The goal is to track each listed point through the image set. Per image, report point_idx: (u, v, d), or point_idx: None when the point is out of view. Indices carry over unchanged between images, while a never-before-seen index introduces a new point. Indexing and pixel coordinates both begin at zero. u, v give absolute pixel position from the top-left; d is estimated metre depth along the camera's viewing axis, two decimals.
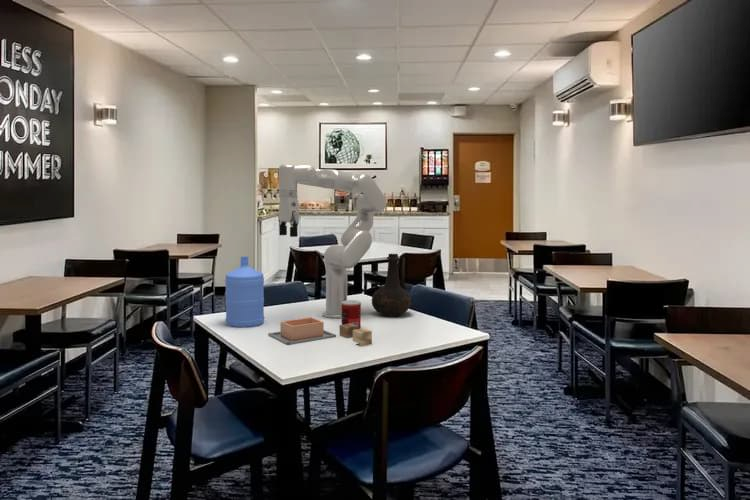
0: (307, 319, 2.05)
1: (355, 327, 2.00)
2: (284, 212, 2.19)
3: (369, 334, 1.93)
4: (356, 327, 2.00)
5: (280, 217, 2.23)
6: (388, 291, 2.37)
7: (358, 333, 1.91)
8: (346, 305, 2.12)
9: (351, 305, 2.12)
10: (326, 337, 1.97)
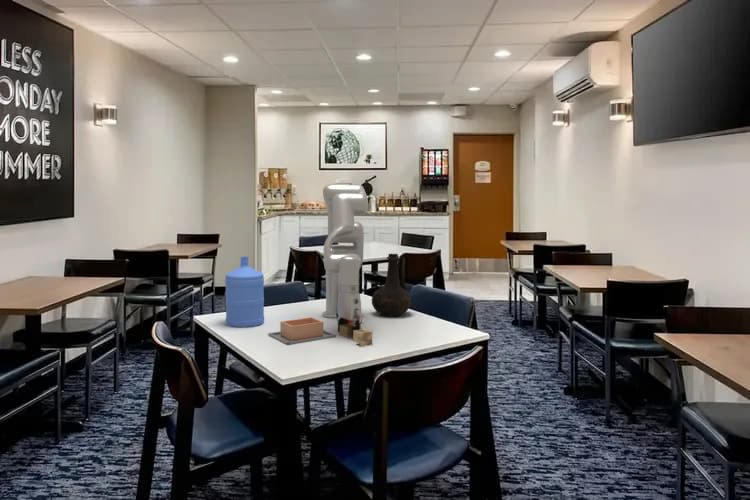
0: (307, 319, 2.05)
1: None
2: (345, 310, 1.98)
3: (369, 335, 1.92)
4: None
5: (339, 313, 2.02)
6: (388, 291, 2.37)
7: (359, 333, 1.91)
8: None
9: None
10: (326, 337, 1.97)
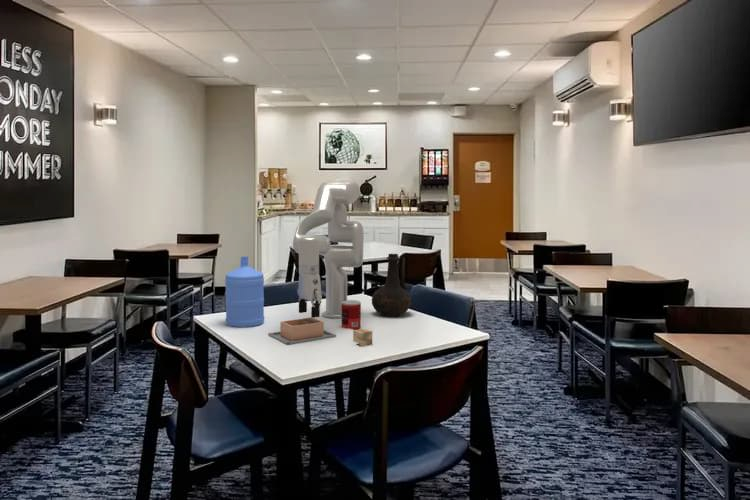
0: None
1: (315, 322, 2.00)
2: (305, 290, 1.97)
3: (369, 334, 1.93)
4: (316, 322, 2.00)
5: (300, 294, 2.01)
6: (388, 291, 2.37)
7: (359, 333, 1.91)
8: (346, 305, 2.12)
9: (351, 305, 2.12)
10: (326, 337, 1.97)
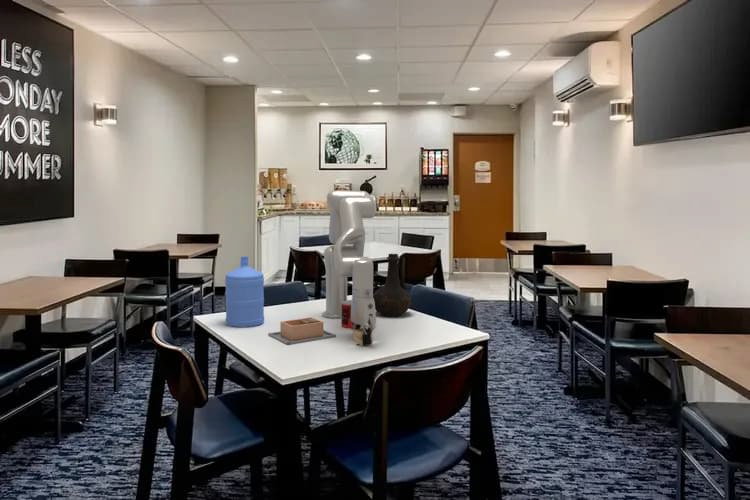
0: None
1: (315, 322, 2.00)
2: (359, 315, 1.91)
3: None
4: (316, 322, 2.00)
5: (353, 318, 1.94)
6: (388, 291, 2.37)
7: (358, 333, 1.91)
8: (346, 305, 2.12)
9: None
10: (326, 337, 1.97)
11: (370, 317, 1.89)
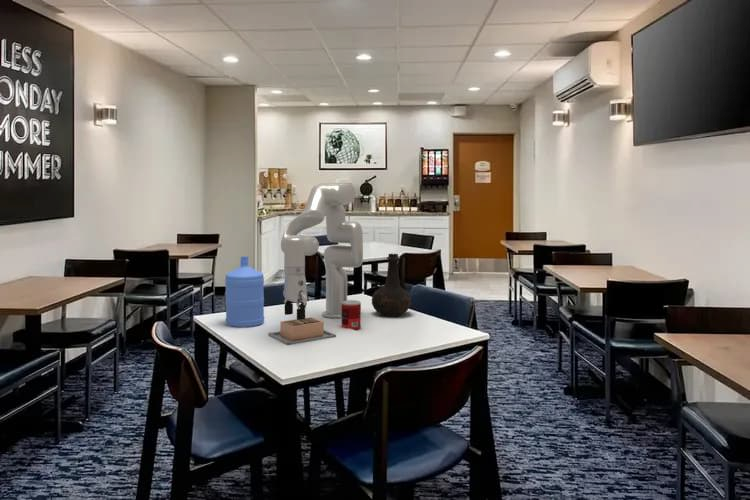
0: None
1: (315, 322, 2.00)
2: (290, 292, 1.94)
3: None
4: (316, 322, 2.00)
5: (285, 295, 1.98)
6: (388, 291, 2.37)
7: None
8: (346, 305, 2.12)
9: (351, 305, 2.12)
10: (326, 337, 1.97)
11: None
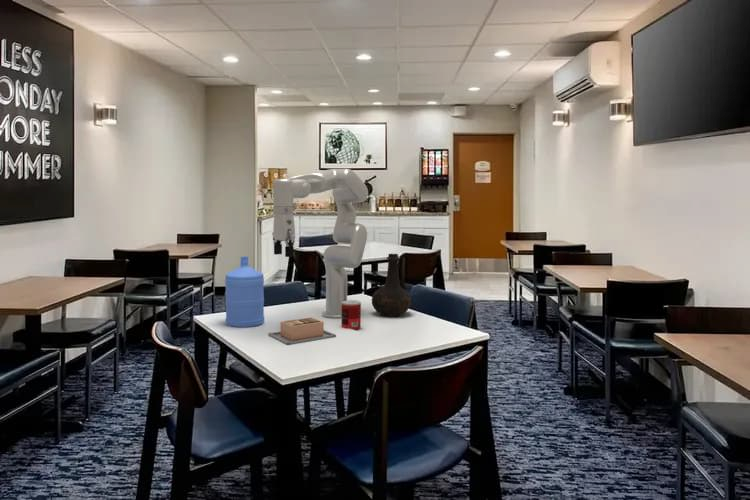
0: None
1: (315, 322, 2.00)
2: (279, 231, 2.03)
3: None
4: (316, 322, 2.00)
5: (275, 235, 2.07)
6: (388, 291, 2.37)
7: None
8: (346, 305, 2.12)
9: (351, 305, 2.12)
10: (326, 337, 1.97)
11: None
